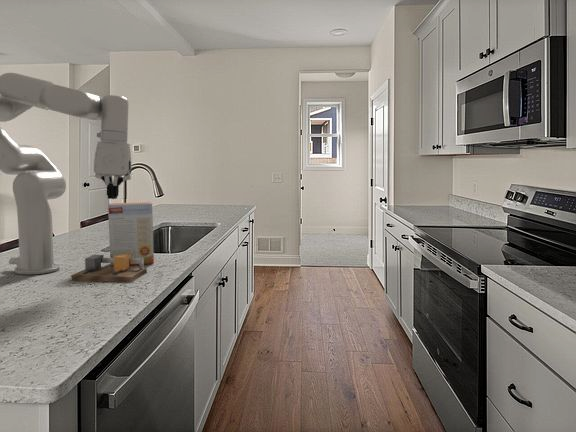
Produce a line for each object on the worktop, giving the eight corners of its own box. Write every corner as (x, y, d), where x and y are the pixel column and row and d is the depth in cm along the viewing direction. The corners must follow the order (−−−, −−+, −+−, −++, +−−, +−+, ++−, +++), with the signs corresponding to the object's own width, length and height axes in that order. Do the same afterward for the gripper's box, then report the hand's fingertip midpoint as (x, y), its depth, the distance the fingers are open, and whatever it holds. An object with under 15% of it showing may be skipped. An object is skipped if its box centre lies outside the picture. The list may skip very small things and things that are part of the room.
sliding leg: (109, 273, 141) (108, 259, 141) (122, 266, 151) (121, 253, 150) (118, 273, 141) (118, 259, 141) (131, 266, 150) (131, 253, 150)
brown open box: (71, 280, 140) (71, 274, 140) (91, 271, 152) (90, 266, 152) (131, 281, 139) (131, 276, 139) (146, 272, 151) (146, 267, 151)
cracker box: (151, 260, 170) (150, 201, 168) (154, 264, 164) (152, 203, 162) (109, 263, 165) (107, 202, 162) (110, 267, 159) (108, 204, 157)
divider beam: (76, 273, 142) (75, 260, 142) (91, 267, 151) (91, 254, 151) (132, 275, 141) (132, 261, 140) (144, 268, 150) (144, 255, 150)
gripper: (84, 135, 142) (82, 197, 144) (133, 138, 141) (131, 201, 143) (96, 136, 149) (94, 196, 151) (143, 140, 148) (140, 199, 150)
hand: (112, 198), depth 147 cm, fingers closed
